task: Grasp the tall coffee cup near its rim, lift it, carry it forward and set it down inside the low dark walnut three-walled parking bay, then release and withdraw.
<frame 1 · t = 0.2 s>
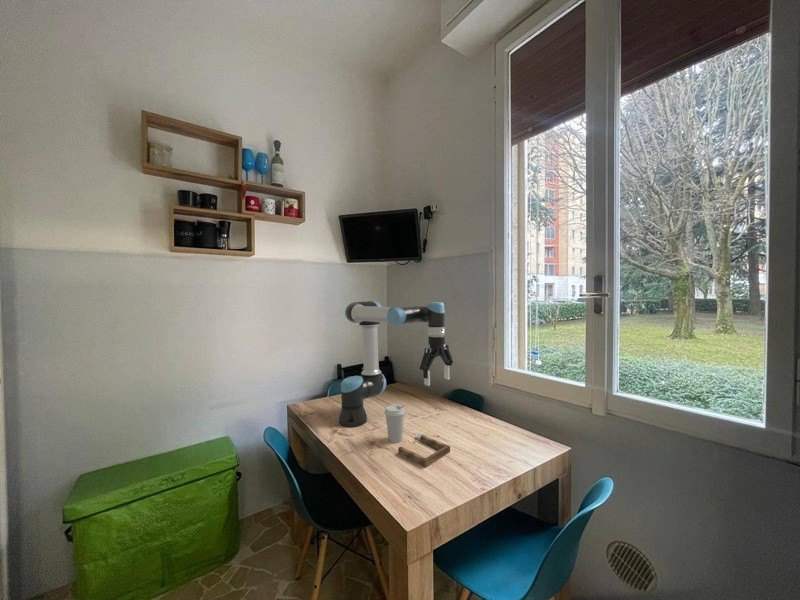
hand: (437, 382, 140), 28 cm above the table, fingers open, 13 cm apart
slate tile: (420, 438, 144), on the table
coffee cup: (395, 439, 143), on the table
bay: (422, 452, 131), on the table
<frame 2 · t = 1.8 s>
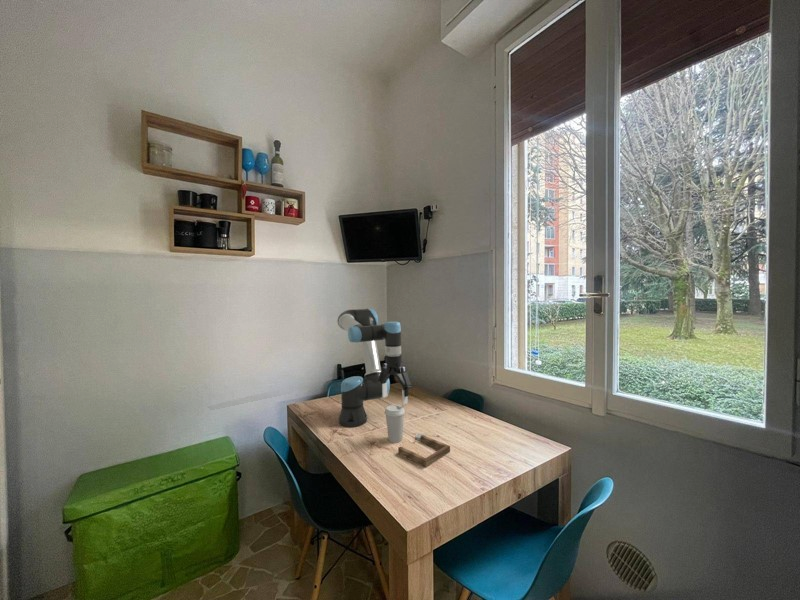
hand: (394, 400, 143), 19 cm above the table, fingers open, 13 cm apart
nothing on the table moved.
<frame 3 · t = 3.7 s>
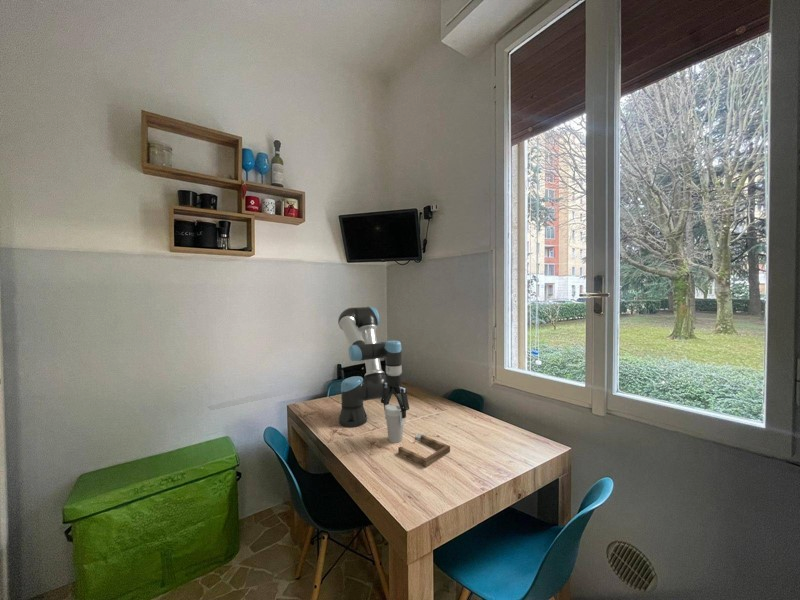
hand: (395, 421, 143), 9 cm above the table, fingers closed on coffee cup, 9 cm apart
coffee cup: (395, 439, 143), on the table, touching gripper
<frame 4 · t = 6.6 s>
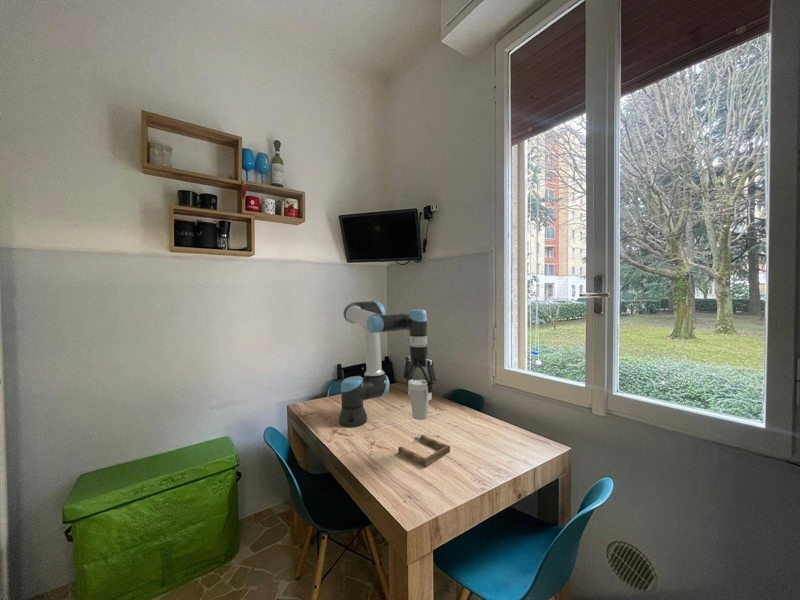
hand: (419, 397, 132), 24 cm above the table, fingers closed on coffee cup, 9 cm apart
coffee cup: (420, 417, 132), point 15 cm above the table, touching gripper
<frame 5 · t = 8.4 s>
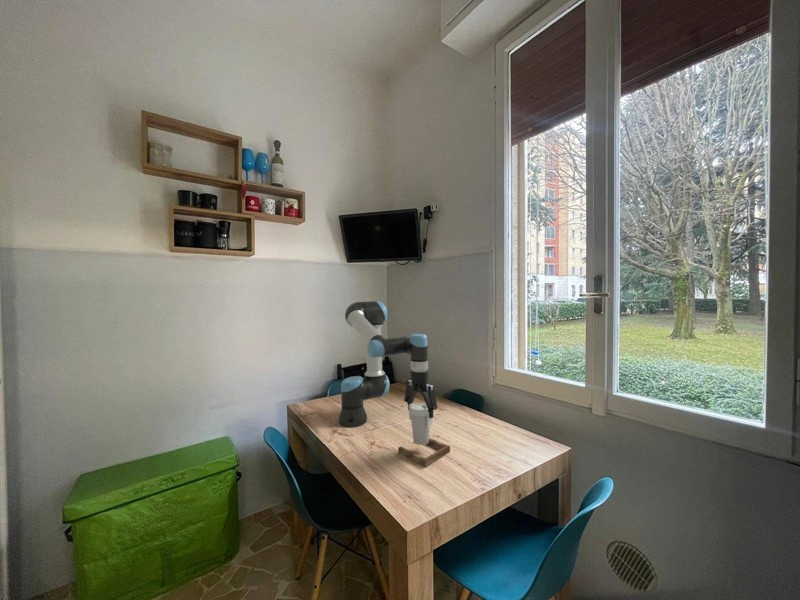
hand: (420, 421, 132), 13 cm above the table, fingers closed on coffee cup, 9 cm apart
coffee cup: (421, 441, 132), point 4 cm above the table, touching gripper
when the fingers open (10 cm above the table, at t = 10.0 s): coffee cup drops 1 cm, on the table.
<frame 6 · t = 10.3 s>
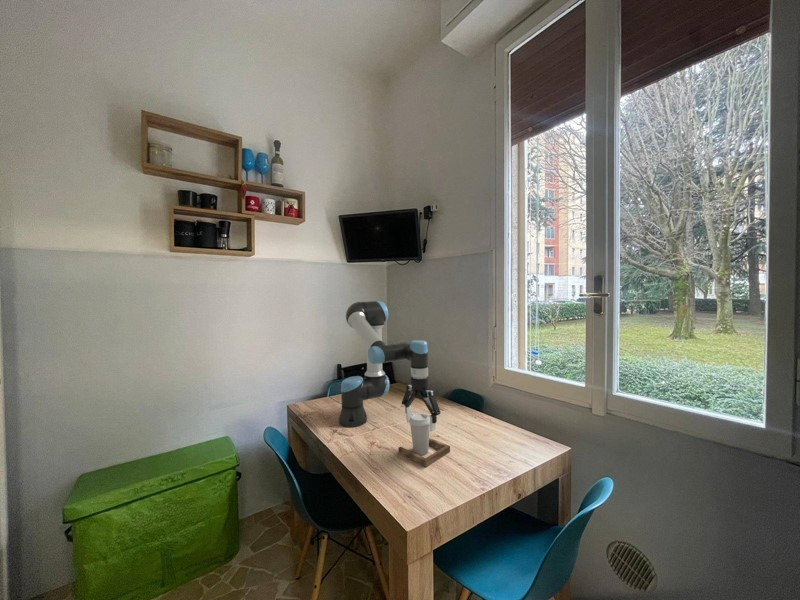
hand: (420, 425, 132), 11 cm above the table, fingers open, 13 cm apart
coffee cup: (420, 451, 132), on the table
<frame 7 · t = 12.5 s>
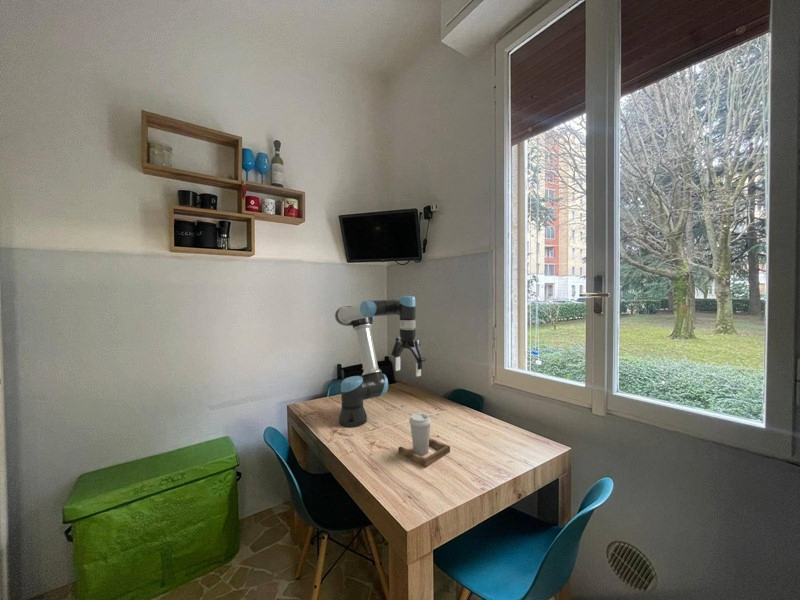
hand: (407, 373, 145), 31 cm above the table, fingers open, 13 cm apart
nothing on the table moved.
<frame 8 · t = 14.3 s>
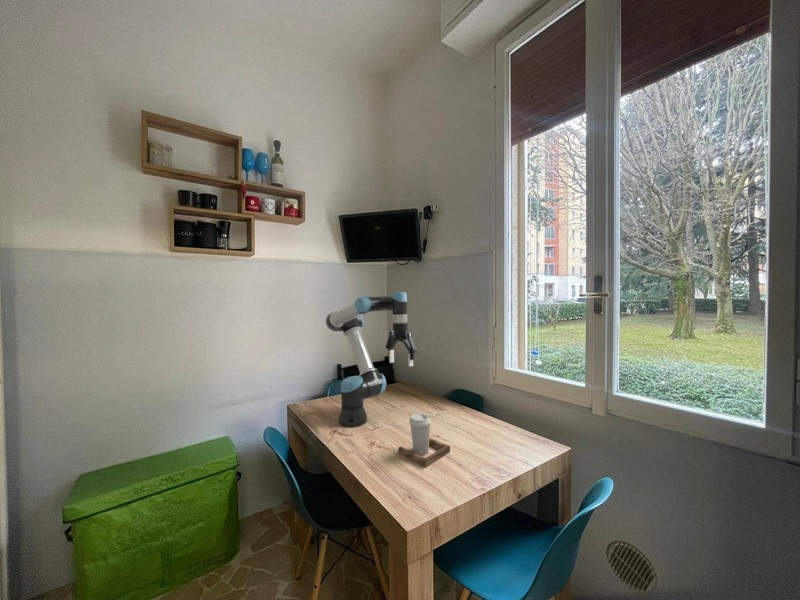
hand: (401, 364, 155), 33 cm above the table, fingers open, 13 cm apart
nothing on the table moved.
at the end: coffee cup inside the target area on the bay (0.7 cm from its centre), point 0.0 cm above the bay's base; coffee cup tilted 0°; the gripper is holding nothing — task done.
